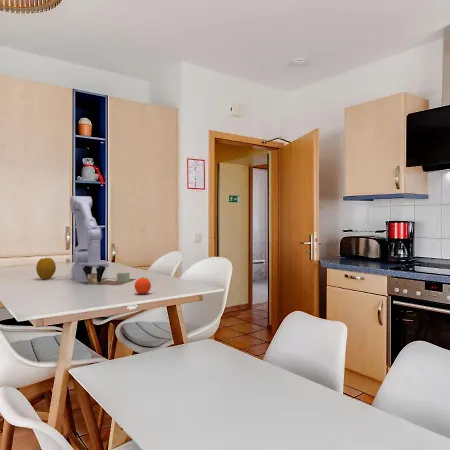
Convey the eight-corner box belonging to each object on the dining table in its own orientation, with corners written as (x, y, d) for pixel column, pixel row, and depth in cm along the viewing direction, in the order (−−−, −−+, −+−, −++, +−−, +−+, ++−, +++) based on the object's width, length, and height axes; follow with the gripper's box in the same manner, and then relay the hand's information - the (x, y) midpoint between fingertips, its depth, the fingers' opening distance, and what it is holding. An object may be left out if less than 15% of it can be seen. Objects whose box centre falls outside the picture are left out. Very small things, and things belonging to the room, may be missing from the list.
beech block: (87, 283, 195) (87, 274, 195) (92, 282, 200) (92, 273, 200) (96, 284, 194) (96, 274, 194) (100, 282, 199) (100, 273, 199)
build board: (82, 286, 194) (82, 283, 194) (103, 279, 214) (103, 277, 214) (120, 287, 191) (120, 285, 191) (137, 280, 210) (137, 278, 210)
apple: (51, 280, 212) (50, 258, 211) (32, 280, 212) (32, 258, 212) (59, 277, 221) (58, 256, 221) (41, 277, 222) (41, 256, 221)
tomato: (150, 291, 180) (150, 275, 180) (155, 294, 174) (155, 277, 174) (132, 293, 176) (132, 276, 176) (136, 296, 170) (136, 279, 170)
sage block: (117, 282, 199) (117, 273, 199) (121, 280, 204) (121, 271, 204) (125, 282, 198) (125, 273, 198) (129, 281, 203) (129, 272, 203)
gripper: (75, 254, 194) (76, 282, 194) (104, 254, 191) (104, 283, 192) (83, 253, 201) (83, 280, 201) (111, 253, 198) (111, 281, 199)
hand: (94, 281), depth 197 cm, fingers closed on beech block, 4 cm apart
